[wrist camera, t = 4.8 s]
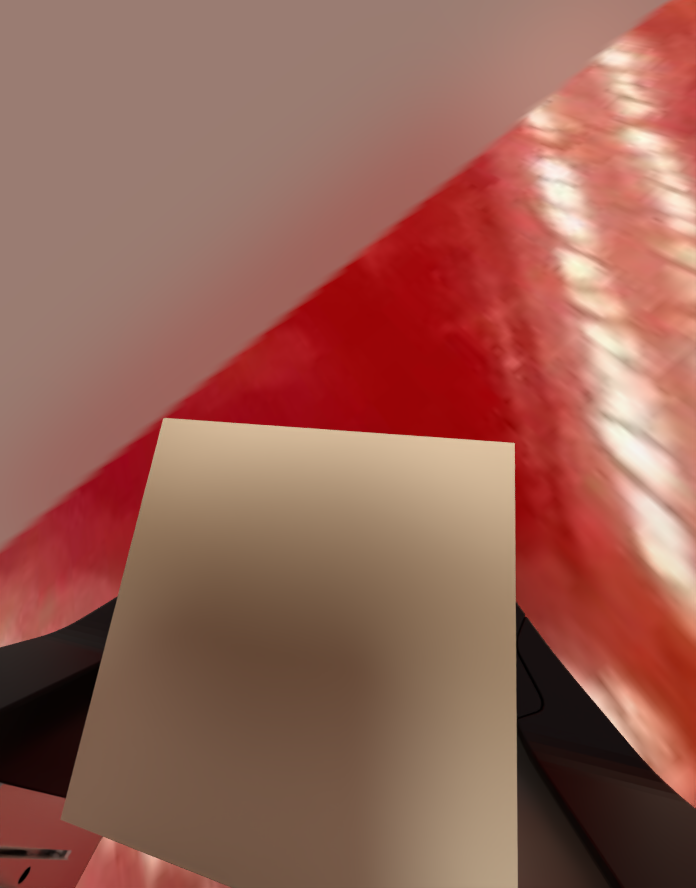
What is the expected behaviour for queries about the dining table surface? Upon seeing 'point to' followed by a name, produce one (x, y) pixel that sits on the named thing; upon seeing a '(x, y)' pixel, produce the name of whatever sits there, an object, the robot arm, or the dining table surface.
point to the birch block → (312, 663)
